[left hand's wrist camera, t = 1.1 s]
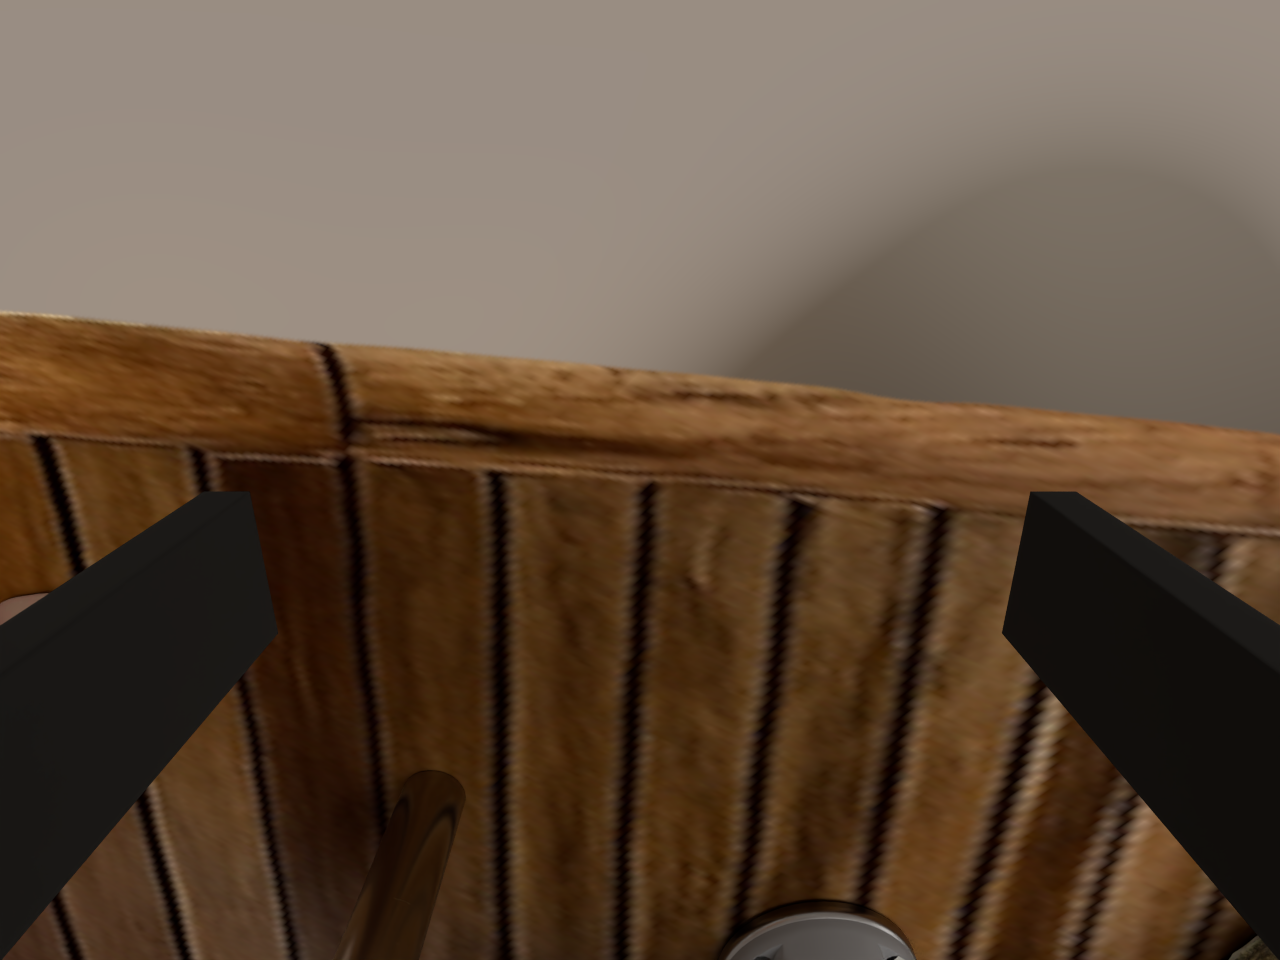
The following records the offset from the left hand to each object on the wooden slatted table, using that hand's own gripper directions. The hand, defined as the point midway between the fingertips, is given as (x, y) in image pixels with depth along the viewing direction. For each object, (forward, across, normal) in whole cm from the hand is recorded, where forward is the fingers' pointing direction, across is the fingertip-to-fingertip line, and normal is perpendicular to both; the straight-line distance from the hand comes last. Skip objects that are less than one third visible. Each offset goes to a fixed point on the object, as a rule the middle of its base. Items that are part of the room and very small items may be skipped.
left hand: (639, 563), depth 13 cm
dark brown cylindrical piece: (+28, +14, +32) cm, 45 cm away
